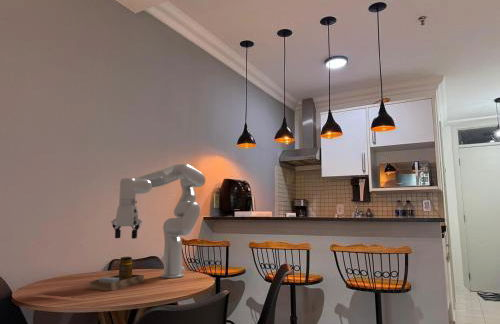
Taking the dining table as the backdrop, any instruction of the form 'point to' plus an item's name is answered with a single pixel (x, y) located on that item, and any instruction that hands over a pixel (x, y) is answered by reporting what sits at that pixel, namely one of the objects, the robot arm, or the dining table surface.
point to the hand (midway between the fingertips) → (125, 238)
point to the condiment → (125, 268)
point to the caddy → (116, 283)
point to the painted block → (108, 279)
